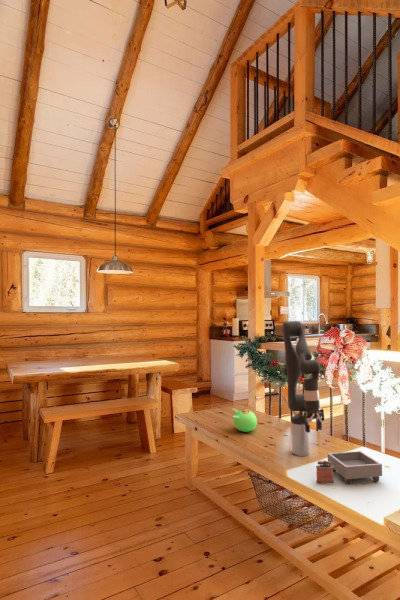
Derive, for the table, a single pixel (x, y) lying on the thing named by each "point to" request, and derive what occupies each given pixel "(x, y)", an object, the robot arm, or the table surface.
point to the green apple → (244, 420)
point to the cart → (355, 465)
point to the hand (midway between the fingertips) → (313, 430)
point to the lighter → (324, 472)
